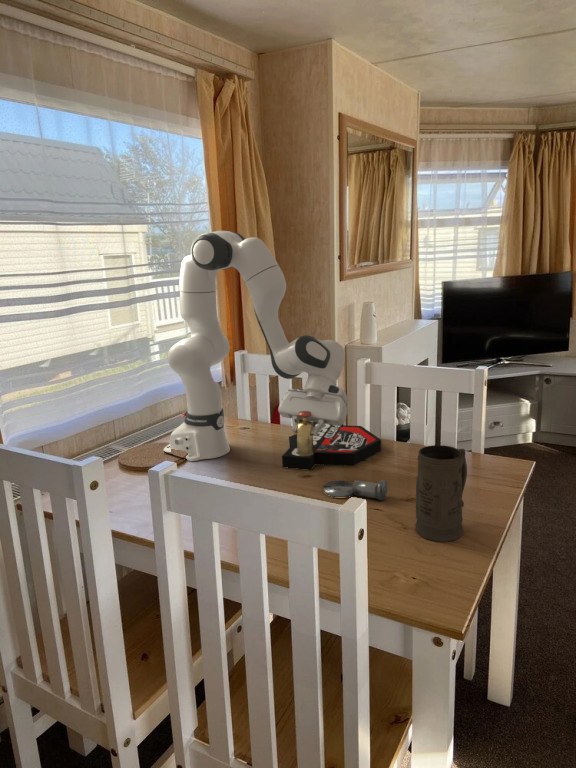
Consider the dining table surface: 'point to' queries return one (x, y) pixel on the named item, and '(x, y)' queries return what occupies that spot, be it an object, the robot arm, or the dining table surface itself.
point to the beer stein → (440, 492)
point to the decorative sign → (334, 447)
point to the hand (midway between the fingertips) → (304, 433)
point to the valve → (304, 435)
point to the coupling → (356, 489)
